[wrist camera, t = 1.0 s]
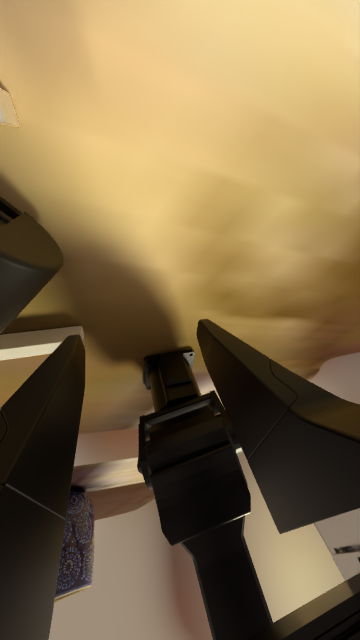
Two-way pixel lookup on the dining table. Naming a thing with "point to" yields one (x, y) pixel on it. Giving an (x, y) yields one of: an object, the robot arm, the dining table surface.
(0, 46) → the dining table surface
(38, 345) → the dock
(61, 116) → the dining table surface
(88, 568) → the planter
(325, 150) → the dining table surface
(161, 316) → the dining table surface
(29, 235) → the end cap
